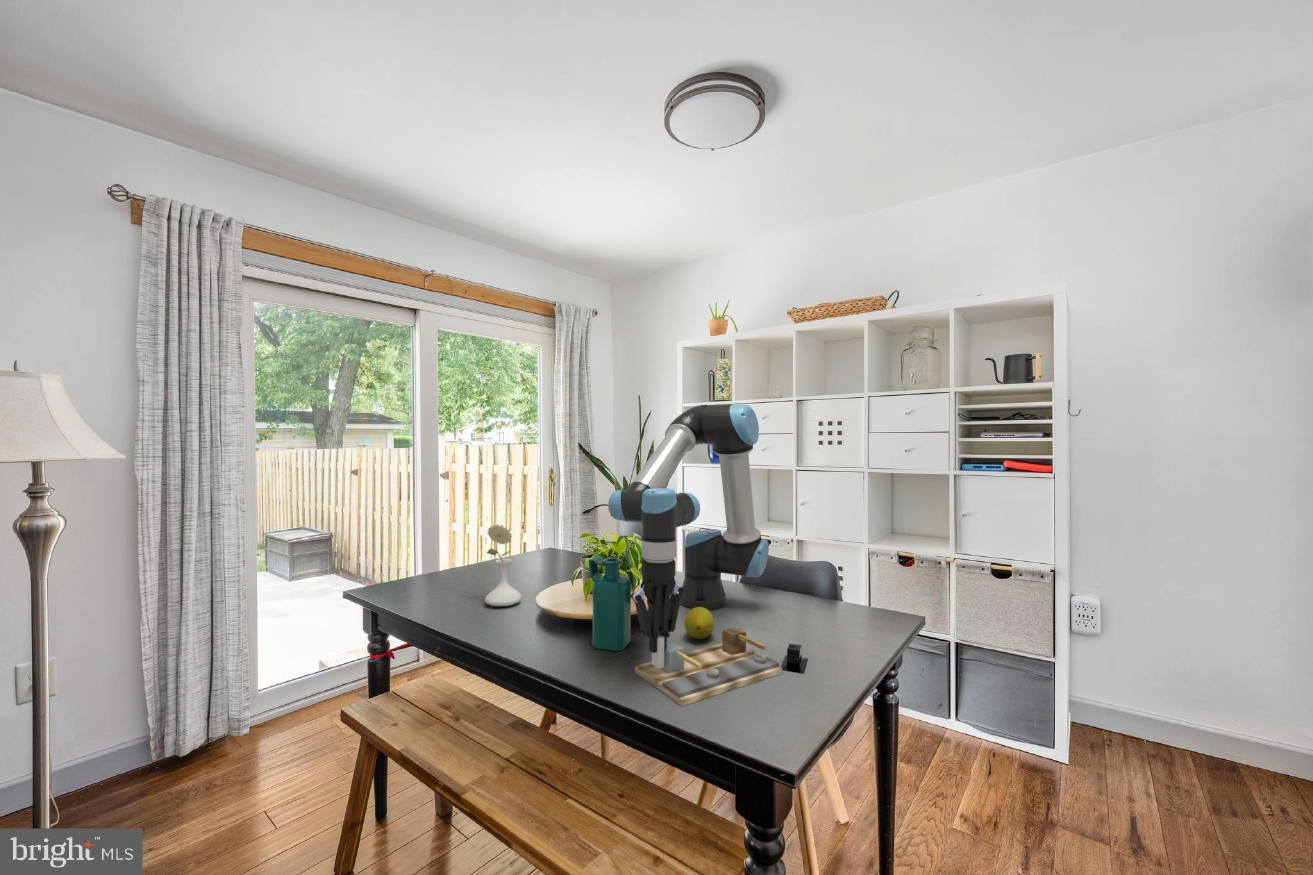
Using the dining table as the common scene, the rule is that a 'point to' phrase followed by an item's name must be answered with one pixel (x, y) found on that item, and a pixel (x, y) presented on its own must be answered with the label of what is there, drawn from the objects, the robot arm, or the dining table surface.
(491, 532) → the flower in vase
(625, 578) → the pitcher
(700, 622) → the lemon
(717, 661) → the gauge board
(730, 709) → the dining table surface
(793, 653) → the black stand
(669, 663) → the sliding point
